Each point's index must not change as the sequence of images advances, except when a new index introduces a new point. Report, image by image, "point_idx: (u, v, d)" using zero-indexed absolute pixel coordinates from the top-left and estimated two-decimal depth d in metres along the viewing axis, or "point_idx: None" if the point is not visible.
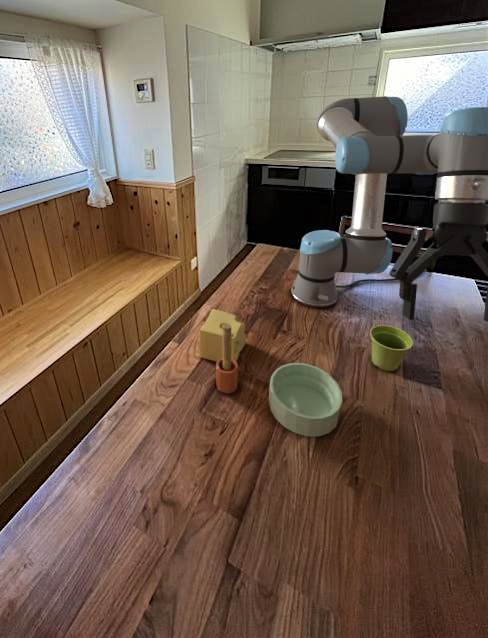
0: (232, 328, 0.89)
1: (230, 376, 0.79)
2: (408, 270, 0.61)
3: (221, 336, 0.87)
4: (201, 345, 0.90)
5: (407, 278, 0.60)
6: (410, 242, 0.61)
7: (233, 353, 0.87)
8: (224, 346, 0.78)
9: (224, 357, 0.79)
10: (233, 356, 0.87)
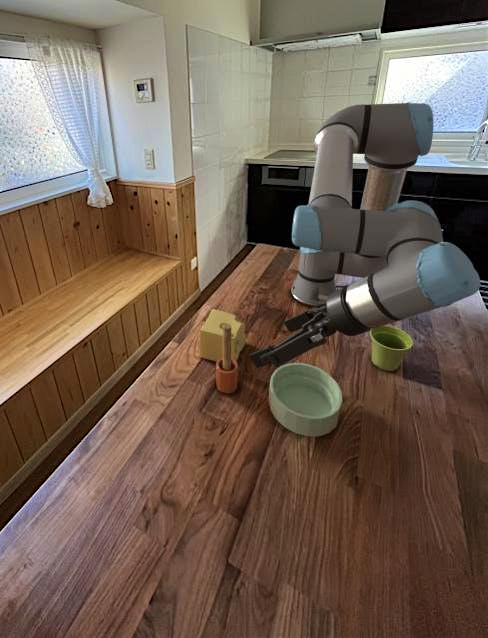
0: (232, 328, 0.89)
1: (230, 376, 0.79)
2: None
3: (221, 336, 0.87)
4: (201, 345, 0.90)
5: None
6: (304, 339, 0.54)
7: (233, 353, 0.87)
8: (224, 346, 0.78)
9: (224, 357, 0.79)
10: (233, 356, 0.87)
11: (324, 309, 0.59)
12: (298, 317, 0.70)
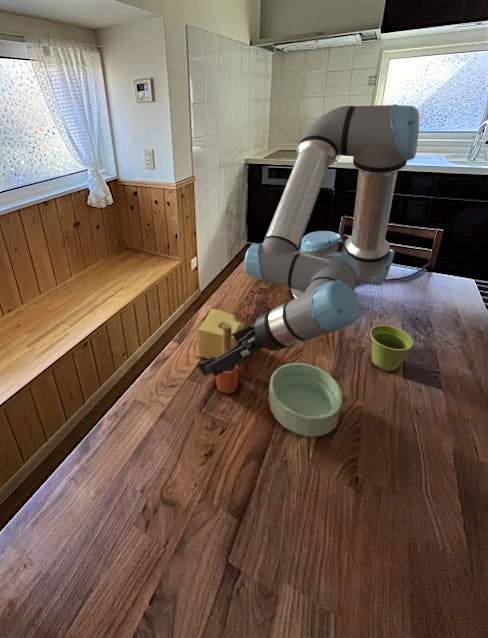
0: (231, 328, 0.89)
1: (230, 376, 0.79)
2: None
3: (220, 336, 0.87)
4: (200, 344, 0.90)
5: None
6: (235, 353, 0.66)
7: None
8: (224, 346, 0.78)
9: None
10: None
11: None
12: (243, 330, 0.82)
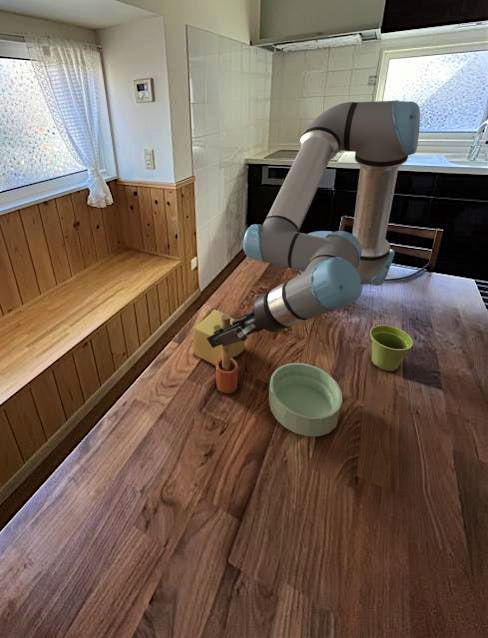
0: None
1: (230, 376, 0.79)
2: None
3: None
4: (194, 342, 0.91)
5: None
6: (233, 333, 0.67)
7: (221, 356, 0.86)
8: None
9: (223, 348, 0.78)
10: None
11: None
12: None
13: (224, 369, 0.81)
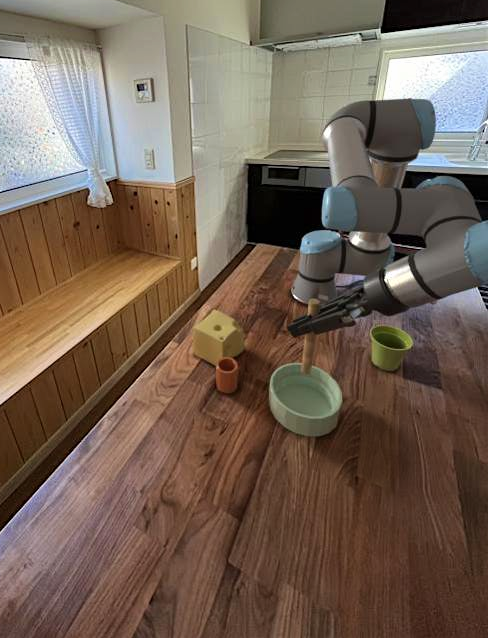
0: (225, 331, 0.88)
1: (230, 376, 0.79)
2: None
3: (211, 337, 0.86)
4: (194, 342, 0.91)
5: None
6: (335, 318, 0.57)
7: (221, 356, 0.86)
8: None
9: (308, 338, 0.68)
10: None
11: (360, 289, 0.59)
12: None
13: (306, 362, 0.71)
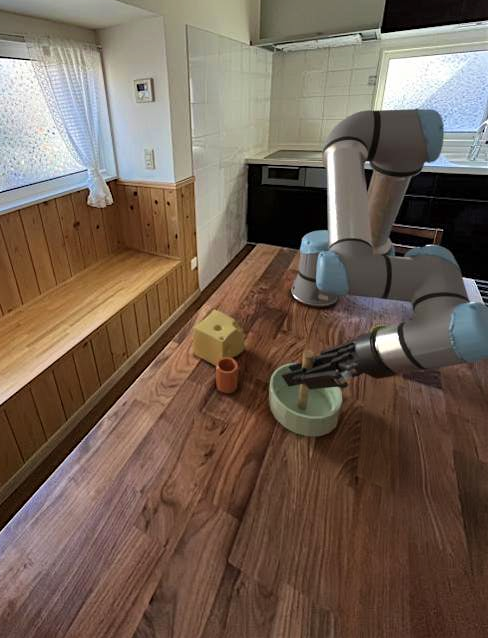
0: (225, 331, 0.88)
1: (230, 376, 0.79)
2: None
3: (211, 337, 0.86)
4: (194, 342, 0.91)
5: None
6: (328, 377, 0.60)
7: (221, 356, 0.86)
8: None
9: None
10: None
11: (353, 348, 0.62)
12: None
13: (301, 401, 0.74)
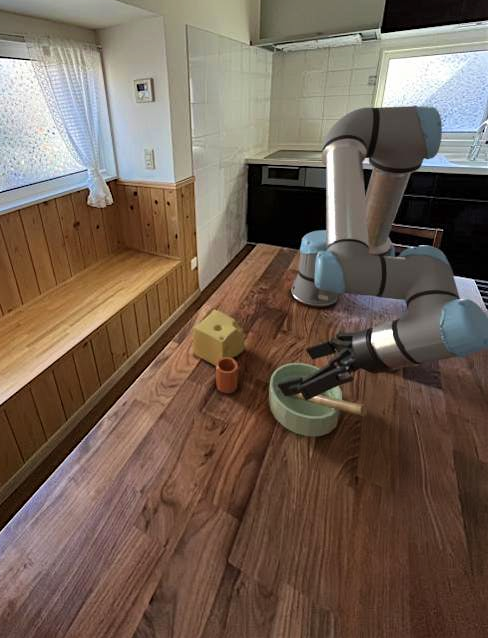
0: (225, 331, 0.88)
1: (230, 376, 0.79)
2: None
3: (211, 337, 0.86)
4: (194, 342, 0.91)
5: None
6: (332, 376, 0.60)
7: (221, 356, 0.86)
8: (336, 406, 0.68)
9: (321, 402, 0.71)
10: None
11: (348, 345, 0.65)
12: (320, 346, 0.76)
13: (297, 397, 0.76)
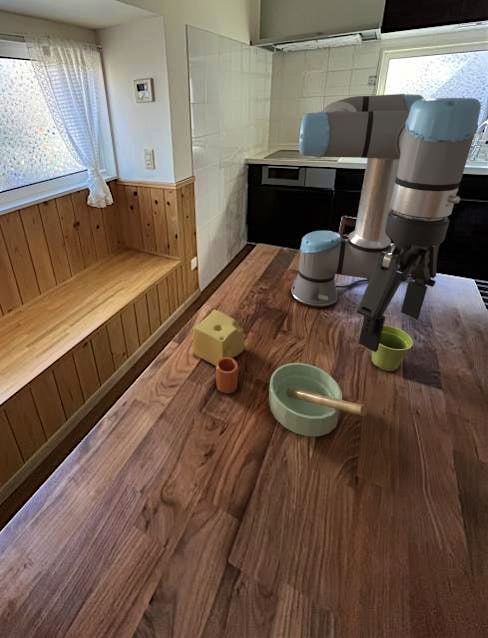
0: (225, 331, 0.88)
1: (230, 376, 0.79)
2: None
3: (211, 337, 0.86)
4: (194, 342, 0.91)
5: (380, 315, 0.49)
6: (378, 271, 0.49)
7: (221, 356, 0.86)
8: (336, 406, 0.68)
9: (321, 402, 0.71)
10: None
11: None
12: (408, 293, 0.60)
13: (297, 397, 0.76)
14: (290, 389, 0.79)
